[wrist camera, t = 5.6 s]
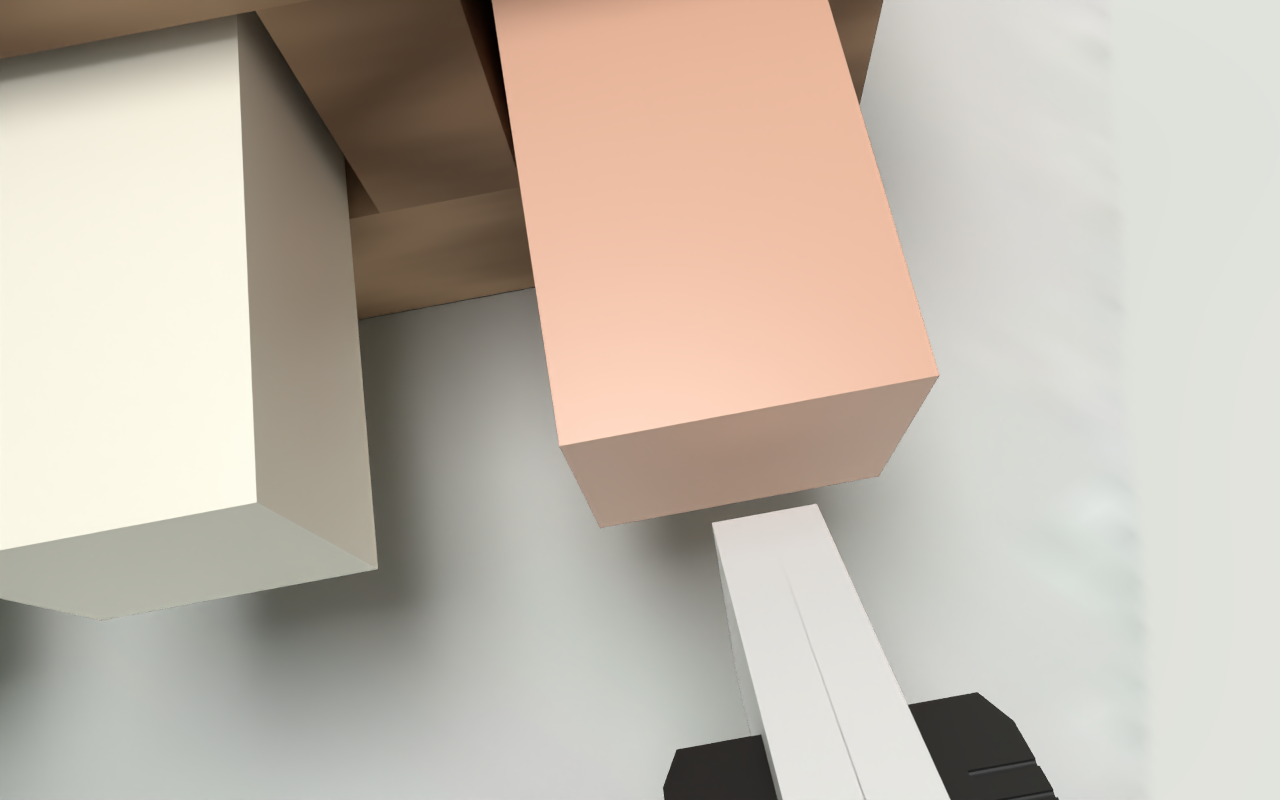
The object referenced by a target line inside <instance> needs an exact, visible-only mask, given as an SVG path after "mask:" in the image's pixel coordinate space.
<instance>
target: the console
mask: <svg viewBox="0 0 1280 800" xmlns="http://www.w3.org/2000/svg"><path fill="white" fill-rule="evenodd" d="M828 2H829V5H830V9H831V12H832V15H833V19H834V22H835V25H836V29H837V32H838V35H839V39H840V42H841V46H842V49H843V52H844V56H845V59H846V62H847V66H848V69H849V73H850V76H851V79H852V83H853V86H854V89H855V93H856V96H857V99H858V103H859V105H860V100H861V96H862V92H863V87H864V83H865V78H866V74H867V70H868V65H869V61H870V56H871V52H872V48H873V43H874V39H875V34H876V30H877V26H878V21H879V17H880V12H881V8H882V4H883V0H828ZM251 11H256V13H257V14H258V16H259V17H260V19H261V21H262V22H263V24H264V26H265V27H266V29H267V30H268V32H269V34H270V35H271V37H272V39H273V40H274V42H275V43H276V45H277V47H278V48H279V50H280V52H281V53H282V55H283V56H284V58H285V60H286V61H287V63H288V65H289V66H290V68H291V69H292V71H293V73H294V74H295V76H296V78H297V79H298V81H299V82H300V84H301V86H302V87H303V89H304V91H305V92H306V94H307V95H308V97H309V99H310V100H311V102H312V104H313V105H314V107H315V108H316V110H317V112H318V113H319V115H320V117H321V118H322V120H323V121H324V123H325V125H326V126H327V128H328V130H329V131H330V133H331V134H332V136H333V138H334V139H335V141H336V143H337V144H338V146H339V147H340V149H341V151H342V152H343V154H344V161H345V173H346V185H347V197H348V210H349V222H350V234H351V246H352V258H353V270H354V282H355V294H356V307H357V319H358V320H359V319H365V318H370V317H375V316H381V315H386V314H391V313H397V312H402V311H407V310H413V309H418V308H423V307H429V306H434V305H439V304H445V303H450V302H455V301H461V300H466V299H471V298H477V297H482V296H488V295H493V294H498V293H504V292H509V291H514V290H520V289H525V288H530V287H535V282H534V275H533V269H532V262H531V255H530V249H529V242H528V236H527V229H526V223H525V216H524V209H523V203H522V196H521V190H520V183H519V176H518V170H517V163H516V157H515V150H514V143H513V137H512V130H511V124H510V117H509V110H508V104H507V97H506V91H505V84H504V78H503V71H502V64H501V58H500V51H499V45H498V38H497V31H496V25H495V18H494V12H493V5H492V0H0V59H3V58H8V57H14V56H19V55H24V54H30V53H35V52H40V51H45V50H51V49H56V48H61V47H66V46H72V45H77V44H82V43H88V42H93V41H98V40H103V39H109V38H114V37H119V36H125V35H130V34H135V33H140V32H146V31H151V30H156V29H161V28H167V27H172V26H177V25H183V24H188V23H193V22H198V21H204V20H209V19H214V18H220V17H225V16H230V15H235V14H241V13H246V12H251Z"/></svg>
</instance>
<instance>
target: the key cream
mask: <svg viewBox="0 0 1280 800" xmlns="http://www.w3.org/2000/svg"><path fill="white" fill-rule="evenodd" d="M376 569H378V561H377V549H376V537H375V525H374V513H373V501H372V489H371V476H370V464H369V452H368V440H367V428H366V416H365V404H364V392H363V379H362V367H361V355H360V343H359V331H358V319H357V307H356V294H355V282H354V270H353V258H352V246H351V234H350V222H349V210H348V197H347V185H346V173H345V161H344V154H343V152H342V151H341V149H340V147H339V146H338V144H337V143H336V141H335V139H334V138H333V136H332V134H331V133H330V131H329V130H328V128H327V126H326V125H325V123H324V121H323V120H322V118H321V117H320V115H319V113H318V112H317V110H316V108H315V107H314V105H313V104H312V102H311V100H310V99H309V97H308V95H307V94H306V92H305V91H304V89H303V87H302V86H301V84H300V82H299V81H298V79H297V78H296V76H295V74H294V73H293V71H292V69H291V68H290V66H289V65H288V63H287V61H286V60H285V58H284V56H283V55H282V53H281V52H280V50H279V48H278V47H277V45H276V43H275V42H274V40H273V39H272V37H271V35H270V34H269V32H268V30H267V29H266V27H265V26H264V24H263V22H262V21H261V19H260V17H259V16H258V14H257V13H256V11H251V12H246V13H241V14H235V15H230V16H225V17H220V18H214V19H209V20H204V21H198V22H193V23H188V24H183V25H177V26H172V27H167V28H161V29H156V30H151V31H146V32H140V33H135V34H130V35H125V36H119V37H114V38H109V39H103V40H98V41H93V42H88V43H82V44H77V45H72V46H66V47H61V48H56V49H51V50H45V51H40V52H35V53H30V54H24V55H19V56H14V57H8V58H3V59H0V599H4V600H9V601H14V602H18V603H23V604H28V605H32V606H37V607H41V608H46V609H51V610H55V611H60V612H64V613H69V614H74V615H78V616H83V617H88V618H92V619H97V620H101V621H102V620H107V619H112V618H118V617H123V616H128V615H134V614H139V613H145V612H150V611H155V610H161V609H166V608H172V607H177V606H182V605H188V604H193V603H199V602H204V601H209V600H215V599H220V598H225V597H231V596H236V595H242V594H247V593H252V592H258V591H263V590H269V589H274V588H279V587H285V586H290V585H296V584H301V583H306V582H312V581H317V580H322V579H328V578H333V577H339V576H344V575H349V574H355V573H360V572H366V571H371V570H376Z"/></svg>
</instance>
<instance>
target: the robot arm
mask: <svg viewBox="0 0 1280 800" xmlns="http://www.w3.org/2000/svg"><path fill="white" fill-rule="evenodd" d="M712 527H713V534H714V540H715V546H716V552H717V558H718V564H719V570H720V577H721V583H722V589H723V595H724V601H725V607H726V614H727V620H728V626H729V632H730V638H731V644H732V650H733V657H734V663H735V669H736V674H737V679H738V683H739V687H740V691H741V695H742V700H743V704H744V708H745V712H746V716H747V721H748V725H749V729H750V733H751V736H749V737H744V738H738V739H733V740H727V741H722V742H716V743H711V744H705V745H700V746H694V747H689V748H683V749H678V750H676V753H675V756H674V759H673V761H672V764H671V767H670V770H669V773H668V775H667V778H666V781H665V784H664V786H663V791H664V799H665V800H1059V799H1058V797H1055V795H1054V792H1053V788H1052V787H1051V785H1050V783H1049V781H1048V780H1047V778H1046V776H1045V774H1044V773H1043V771H1042V769H1041V768H1040V766H1037V764H1036V761H1035V757H1034V755H1033V754H1032V752H1031V750H1030V748H1029V747H1028V745H1027V743H1026V742H1025V740H1024V738H1023V736H1022V735H1021V733H1020V731H1019V729H1018V728H1017V726H1016V724H1015V722H1014V721H1013V720H1012V719H1010V718H1009V717H1008V716H1007V715H1005V714H1004V713H1003V712H1002V711H1000V710H999V709H998V708H997V707H995V706H994V705H993V704H992V703H990V702H989V701H988V700H987V699H985V698H984V697H983V696H981V695H980V694H979V693H978V692H976V693H971V694H965V695H960V696H954V697H949V698H943V699H938V700H932V701H927V702H921V703H916V704H910V705H907V703H906V700H905V698H904V696H903V694H902V691H901V689H900V687H899V685H898V683H897V680H896V678H895V676H894V674H893V671H892V669H891V667H890V665H889V663H888V660H887V658H886V656H885V654H884V652H883V649H882V647H881V645H880V643H879V640H878V638H877V636H876V634H875V632H874V629H873V627H872V625H871V623H870V620H869V618H868V616H867V614H866V612H865V609H864V607H863V605H862V603H861V601H860V598H859V596H858V594H857V592H856V589H855V587H854V585H853V583H852V581H851V578H850V576H849V574H848V572H847V569H846V567H845V565H844V563H843V561H842V558H841V556H840V554H839V552H838V550H837V547H836V545H835V543H834V541H833V538H832V536H831V534H830V532H829V530H828V527H827V525H826V523H825V521H824V518H823V516H822V514H821V512H820V510H819V507H818V505H817V504H812V505H806V506H801V507H795V508H790V509H784V510H779V511H774V512H768V513H763V514H757V515H752V516H746V517H741V518H735V519H730V520H725V521H719V522H714V523H712Z"/></svg>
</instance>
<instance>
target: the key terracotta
mask: <svg viewBox="0 0 1280 800" xmlns="http://www.w3.org/2000/svg"><path fill="white" fill-rule="evenodd" d="M492 5H493V12H494V18H495V25H496V31H497V38H498V45H499V51H500V58H501V64H502V71H503V78H504V84H505V91H506V97H507V104H508V110H509V117H510V124H511V130H512V137H513V143H514V150H515V157H516V163H517V170H518V176H519V183H520V190H521V196H522V203H523V209H524V216H525V223H526V229H527V236H528V242H529V249H530V255H531V262H532V269H533V275H534V282H535V288H536V295H537V302H538V308H539V315H540V321H541V328H542V335H543V341H544V348H545V354H546V361H547V368H548V374H549V381H550V387H551V394H552V401H553V407H554V414H555V420H556V427H557V433H558V440H559V446H560V448H561V450H562V452H563V454H564V456H565V458H566V460H567V462H568V464H569V466H570V468H571V470H572V472H573V474H574V476H575V478H576V480H577V482H578V484H579V486H580V488H581V490H582V492H583V494H584V496H585V498H586V500H587V502H588V504H589V506H590V508H591V510H592V512H593V514H594V516H595V519H596V521H597V523H598V525H599V527H600V528H603V527H608V526H613V525H619V524H624V523H630V522H635V521H640V520H646V519H651V518H657V517H662V516H667V515H673V514H678V513H684V512H689V511H694V510H700V509H705V508H710V507H716V506H721V505H727V504H732V503H737V502H743V501H748V500H754V499H759V498H764V497H770V496H775V495H780V494H786V493H791V492H797V491H802V490H807V489H813V488H818V487H824V486H829V485H834V484H840V483H845V482H851V481H856V480H861V479H867V478H872V477H877V476H879V475H880V473H881V472H882V470H883V468H884V467H885V465H886V463H887V462H888V460H889V458H890V457H891V455H892V453H893V452H894V450H895V448H896V447H897V445H898V443H899V442H900V440H901V438H902V437H903V435H904V433H905V432H906V430H907V428H908V427H909V425H910V423H911V422H912V420H913V418H914V417H915V415H916V413H917V412H918V410H919V408H920V407H921V405H922V404H923V402H924V400H925V399H926V397H927V395H928V394H929V392H930V390H931V389H932V387H933V385H934V384H935V382H936V380H937V379H938V377H939V372H938V369H937V366H936V362H935V359H934V356H933V352H932V349H931V345H930V342H929V339H928V335H927V332H926V329H925V325H924V322H923V318H922V315H921V312H920V308H919V305H918V302H917V298H916V295H915V292H914V288H913V285H912V281H911V278H910V275H909V271H908V268H907V265H906V261H905V258H904V254H903V251H902V248H901V244H900V241H899V238H898V234H897V231H896V227H895V224H894V221H893V217H892V214H891V211H890V207H889V204H888V201H887V197H886V194H885V190H884V187H883V184H882V180H881V177H880V174H879V170H878V167H877V163H876V160H875V157H874V153H873V150H872V147H871V143H870V140H869V137H868V133H867V130H866V126H865V123H864V120H863V116H862V113H861V110H860V106H859V103H858V99H857V96H856V93H855V89H854V86H853V83H852V79H851V76H850V73H849V69H848V66H847V62H846V59H845V56H844V52H843V49H842V46H841V42H840V39H839V35H838V32H837V29H836V25H835V22H834V19H833V15H832V12H831V9H830V5H829V2H828V0H492Z"/></svg>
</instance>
